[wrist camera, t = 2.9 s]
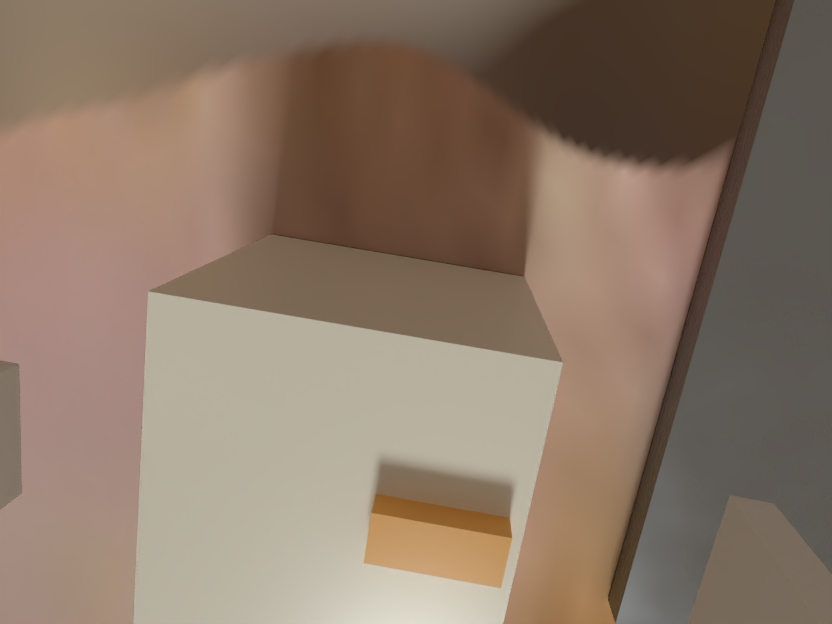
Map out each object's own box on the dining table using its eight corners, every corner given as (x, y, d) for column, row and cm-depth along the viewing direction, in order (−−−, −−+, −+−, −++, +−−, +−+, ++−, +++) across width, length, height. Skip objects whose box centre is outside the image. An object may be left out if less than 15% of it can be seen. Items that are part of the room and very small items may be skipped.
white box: (249, 462, 19) (117, 657, 12) (271, 234, 17) (129, 299, 10) (478, 502, 19) (486, 728, 12) (524, 276, 17) (568, 375, 10)
